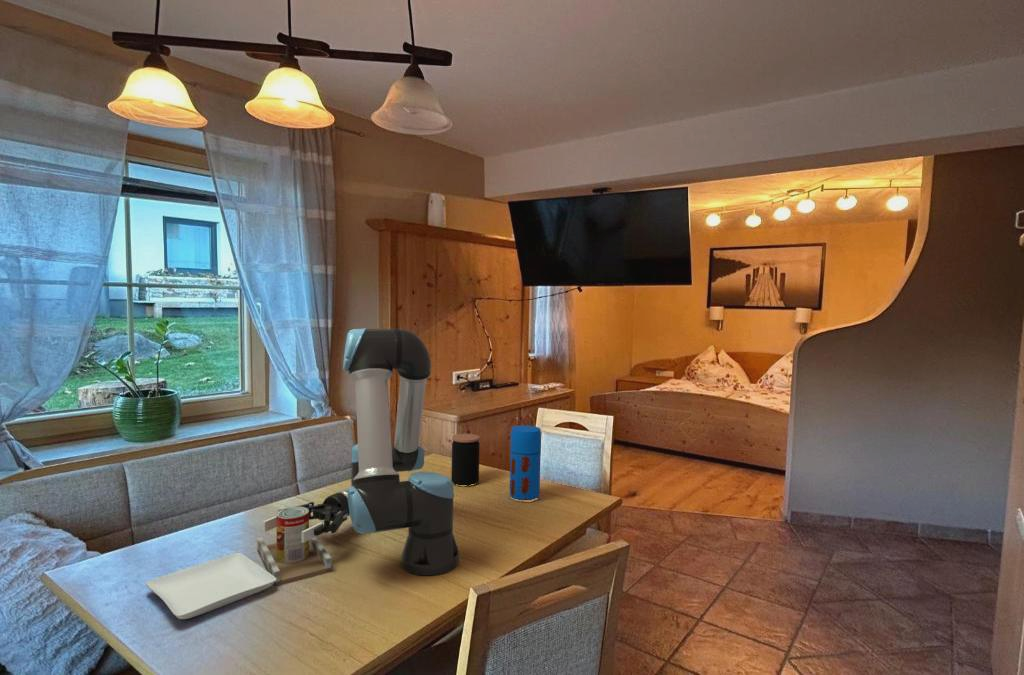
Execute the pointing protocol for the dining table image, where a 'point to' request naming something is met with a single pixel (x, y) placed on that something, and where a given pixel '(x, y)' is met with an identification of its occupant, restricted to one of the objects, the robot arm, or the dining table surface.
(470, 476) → the coffee jar
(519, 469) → the thermos
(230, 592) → the salad plate
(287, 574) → the track
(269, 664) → the dining table surface
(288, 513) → the canned food
